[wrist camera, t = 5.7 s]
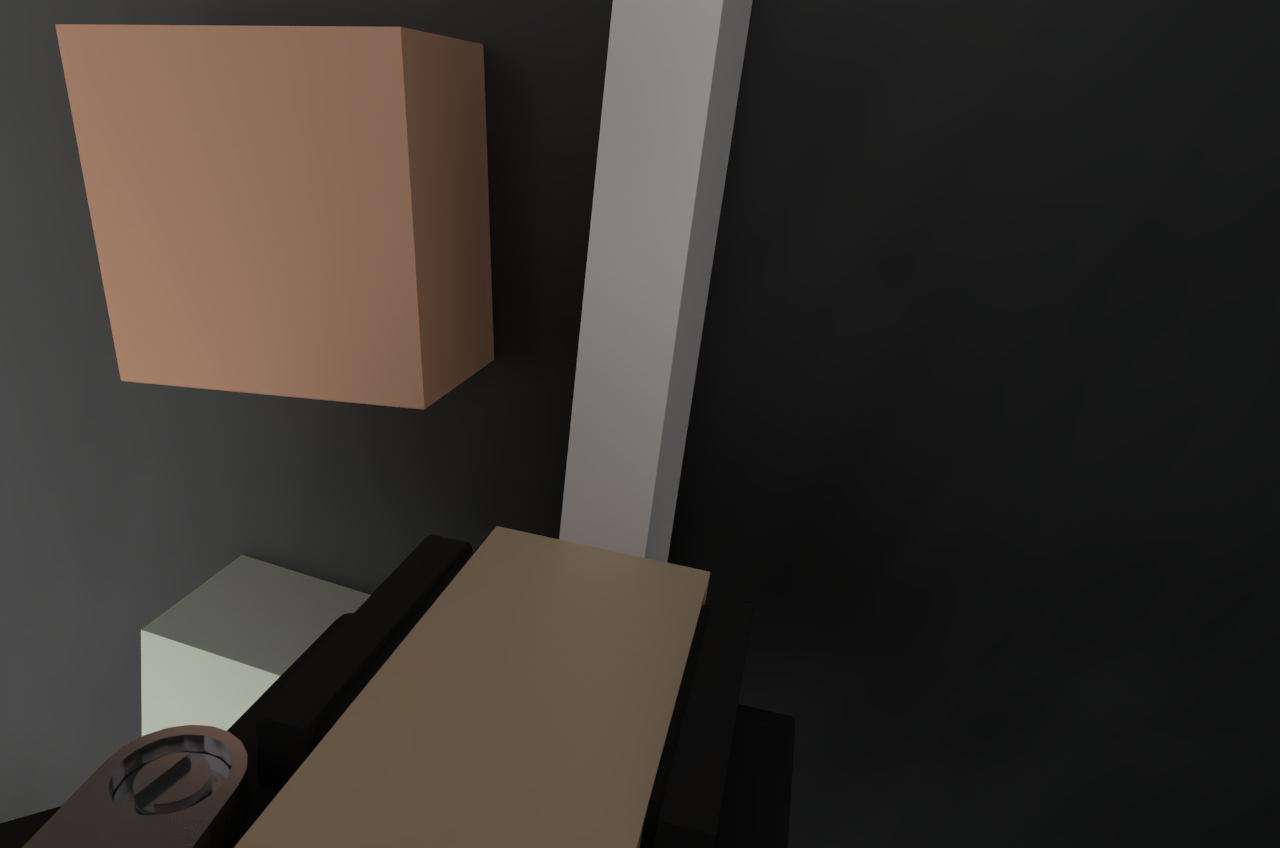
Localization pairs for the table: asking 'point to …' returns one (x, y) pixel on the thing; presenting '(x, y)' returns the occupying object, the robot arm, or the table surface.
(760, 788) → the robot arm
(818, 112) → the table surface
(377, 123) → the terracotta tile
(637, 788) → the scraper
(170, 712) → the pale green square block
